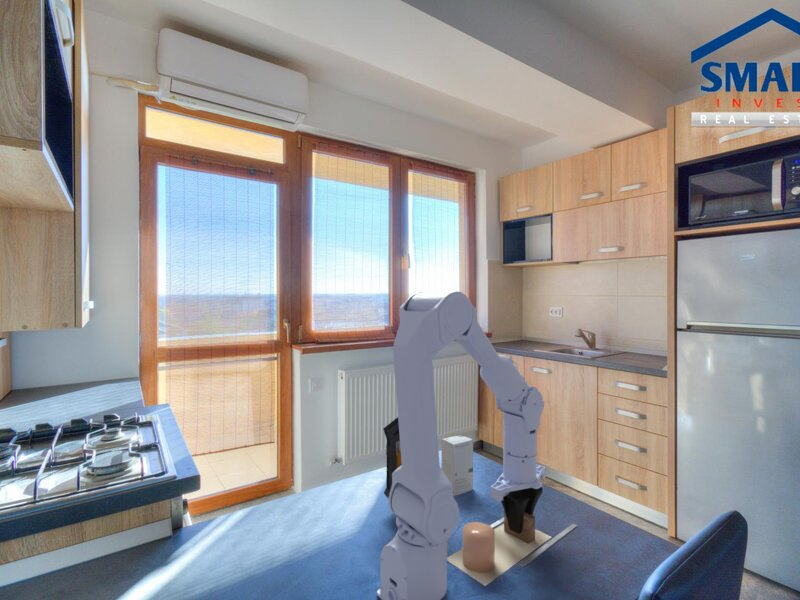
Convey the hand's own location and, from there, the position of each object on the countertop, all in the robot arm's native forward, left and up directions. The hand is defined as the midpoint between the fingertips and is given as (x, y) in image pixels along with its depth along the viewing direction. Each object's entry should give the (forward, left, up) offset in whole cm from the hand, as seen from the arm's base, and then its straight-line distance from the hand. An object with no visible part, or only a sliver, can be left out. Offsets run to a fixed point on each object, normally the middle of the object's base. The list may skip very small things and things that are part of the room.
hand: (519, 528), depth 71 cm
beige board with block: (-5, 0, -2) cm, 6 cm away
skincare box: (+5, +19, -3) cm, 20 cm away
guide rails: (+2, 0, -2) cm, 3 cm away
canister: (-9, +19, -3) cm, 21 cm away
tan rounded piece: (-11, 0, -1) cm, 12 cm away
